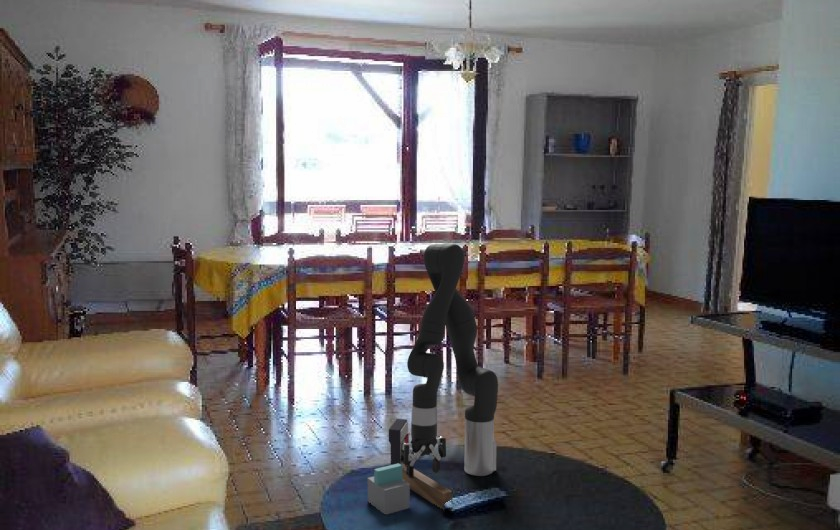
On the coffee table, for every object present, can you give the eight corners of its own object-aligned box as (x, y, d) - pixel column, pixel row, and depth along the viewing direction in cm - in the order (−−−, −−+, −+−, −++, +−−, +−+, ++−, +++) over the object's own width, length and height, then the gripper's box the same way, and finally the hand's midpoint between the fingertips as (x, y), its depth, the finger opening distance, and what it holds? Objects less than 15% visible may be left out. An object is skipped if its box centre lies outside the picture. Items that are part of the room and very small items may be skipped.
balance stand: (391, 495, 211) (391, 458, 209) (409, 507, 202) (409, 470, 201) (367, 501, 206) (367, 464, 205) (384, 514, 198) (384, 476, 197)
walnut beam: (409, 481, 221) (409, 466, 220) (451, 508, 203) (452, 491, 202) (401, 483, 219) (401, 468, 219) (443, 511, 201) (443, 493, 200)
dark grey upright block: (402, 477, 223) (402, 430, 222) (388, 476, 224) (388, 429, 223) (409, 463, 234) (409, 419, 233) (396, 462, 235) (396, 418, 233)
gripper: (437, 413, 215) (436, 466, 217) (396, 420, 208) (395, 474, 210) (451, 420, 209) (450, 474, 211) (409, 428, 202) (408, 483, 203)
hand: (423, 474), depth 210 cm, fingers open, 8 cm apart
